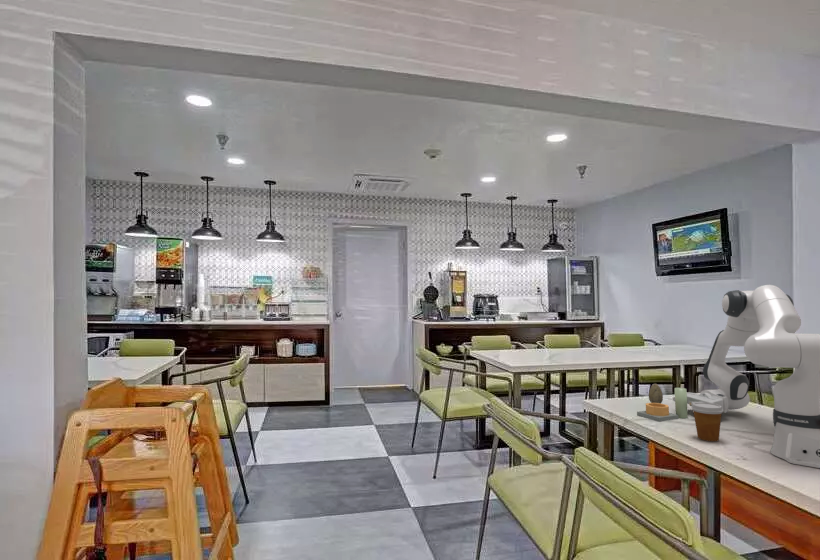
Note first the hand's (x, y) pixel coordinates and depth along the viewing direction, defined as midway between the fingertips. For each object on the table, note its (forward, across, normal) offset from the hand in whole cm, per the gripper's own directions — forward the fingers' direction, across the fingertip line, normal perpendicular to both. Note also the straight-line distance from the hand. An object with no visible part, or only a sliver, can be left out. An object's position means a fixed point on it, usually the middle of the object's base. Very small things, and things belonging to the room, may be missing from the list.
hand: (682, 401), depth 190 cm
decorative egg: (-4, -22, +7) cm, 23 cm away
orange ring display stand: (+10, -2, +6) cm, 12 cm away
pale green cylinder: (0, 0, +6) cm, 6 cm away
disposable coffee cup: (+13, +27, +7) cm, 31 cm away
